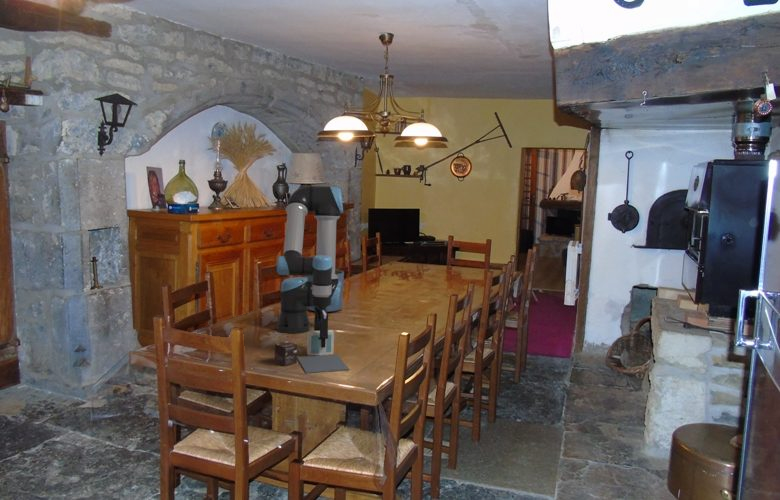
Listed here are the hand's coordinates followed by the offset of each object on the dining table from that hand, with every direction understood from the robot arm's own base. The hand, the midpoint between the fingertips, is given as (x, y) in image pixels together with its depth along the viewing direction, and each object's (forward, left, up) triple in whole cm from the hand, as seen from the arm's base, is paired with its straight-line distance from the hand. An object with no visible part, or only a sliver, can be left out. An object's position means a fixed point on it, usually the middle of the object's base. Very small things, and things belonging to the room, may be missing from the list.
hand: (320, 352), depth 245 cm
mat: (+13, -2, -1) cm, 13 cm away
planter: (-73, +18, -1) cm, 75 cm away
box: (+8, -15, -1) cm, 17 cm away
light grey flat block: (0, 0, -1) cm, 1 cm away
